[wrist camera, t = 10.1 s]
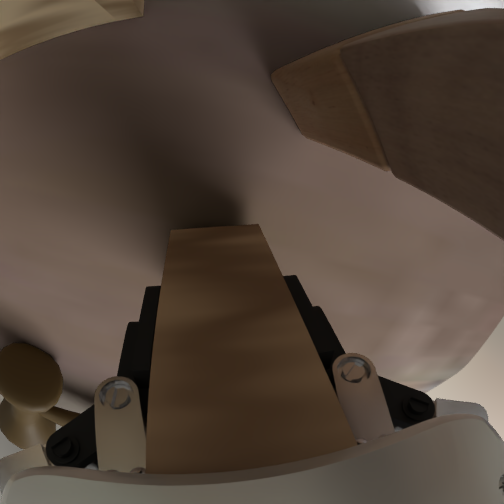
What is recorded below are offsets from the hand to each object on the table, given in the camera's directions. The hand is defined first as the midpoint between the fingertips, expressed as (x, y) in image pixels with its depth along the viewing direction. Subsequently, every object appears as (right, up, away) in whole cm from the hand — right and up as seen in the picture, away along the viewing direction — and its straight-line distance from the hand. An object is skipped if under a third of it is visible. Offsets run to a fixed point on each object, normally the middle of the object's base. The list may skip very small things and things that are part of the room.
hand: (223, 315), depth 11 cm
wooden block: (+7, +12, +1) cm, 14 cm away
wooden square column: (-1, +2, +3) cm, 4 cm away
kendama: (-14, -9, +9) cm, 19 cm away
